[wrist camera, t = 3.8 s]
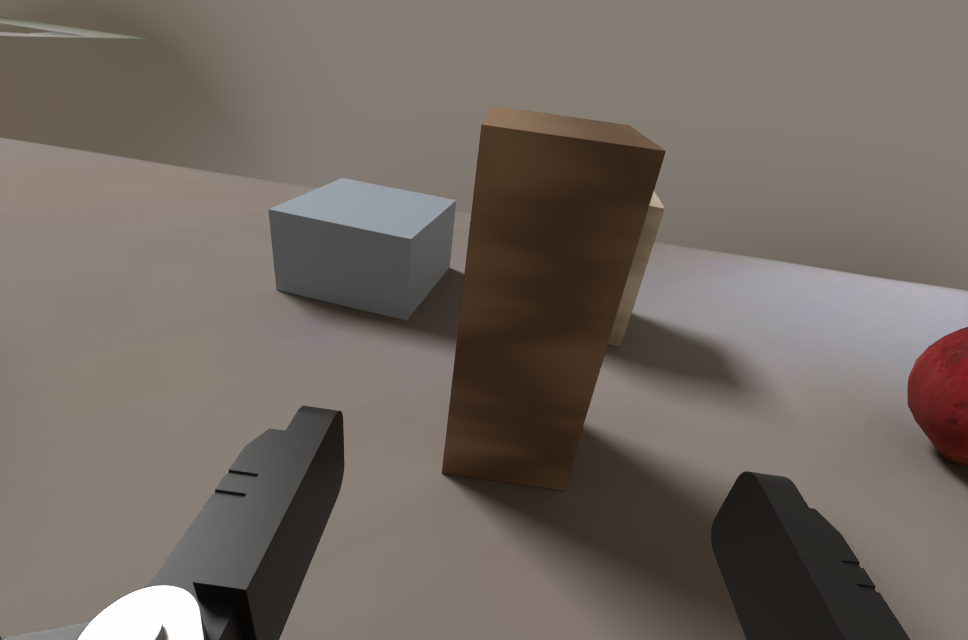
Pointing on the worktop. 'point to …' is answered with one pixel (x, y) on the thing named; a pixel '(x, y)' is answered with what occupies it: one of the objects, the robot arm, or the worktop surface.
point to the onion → (943, 395)
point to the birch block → (637, 270)
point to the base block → (362, 246)
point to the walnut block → (542, 288)
